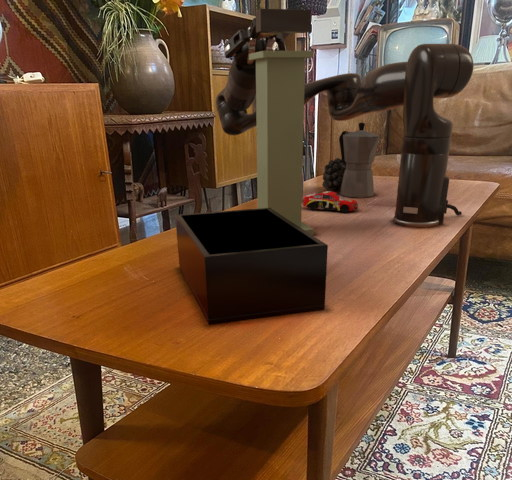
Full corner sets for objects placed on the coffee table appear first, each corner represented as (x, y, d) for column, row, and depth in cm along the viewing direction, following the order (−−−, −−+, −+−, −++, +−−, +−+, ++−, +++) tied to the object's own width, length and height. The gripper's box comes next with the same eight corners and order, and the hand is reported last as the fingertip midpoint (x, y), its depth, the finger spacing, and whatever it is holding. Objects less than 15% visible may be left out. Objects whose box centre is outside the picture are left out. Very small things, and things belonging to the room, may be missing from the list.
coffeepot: (386, 196, 136) (393, 123, 128) (357, 200, 132) (363, 124, 125) (350, 188, 149) (355, 120, 141) (323, 191, 145) (326, 121, 137)
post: (245, 226, 109) (242, 54, 95) (294, 222, 112) (298, 54, 98) (261, 240, 100) (259, 50, 86) (314, 235, 102) (320, 50, 88)
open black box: (179, 268, 85) (175, 214, 81) (270, 259, 88) (270, 207, 85) (208, 325, 64) (204, 257, 60) (324, 310, 68) (328, 245, 64)
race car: (360, 209, 123) (362, 192, 121) (353, 214, 119) (355, 196, 117) (308, 205, 128) (309, 188, 127) (300, 209, 124) (300, 192, 122)
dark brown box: (237, 38, 100) (236, 19, 99) (280, 39, 102) (281, 20, 101) (260, 31, 86) (260, 8, 85) (311, 31, 89) (311, 9, 87)
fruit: (335, 160, 134) (352, 152, 146) (307, 169, 139) (325, 161, 151) (344, 193, 137) (359, 182, 149) (315, 201, 141) (333, 190, 153)
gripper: (280, 90, 114) (306, 39, 97) (218, 91, 110) (234, 38, 93) (274, 57, 114) (299, 0, 97) (213, 57, 111) (227, -1, 94)
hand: (267, 19), depth 95 cm, fingers closed on dark brown box, 2 cm apart
